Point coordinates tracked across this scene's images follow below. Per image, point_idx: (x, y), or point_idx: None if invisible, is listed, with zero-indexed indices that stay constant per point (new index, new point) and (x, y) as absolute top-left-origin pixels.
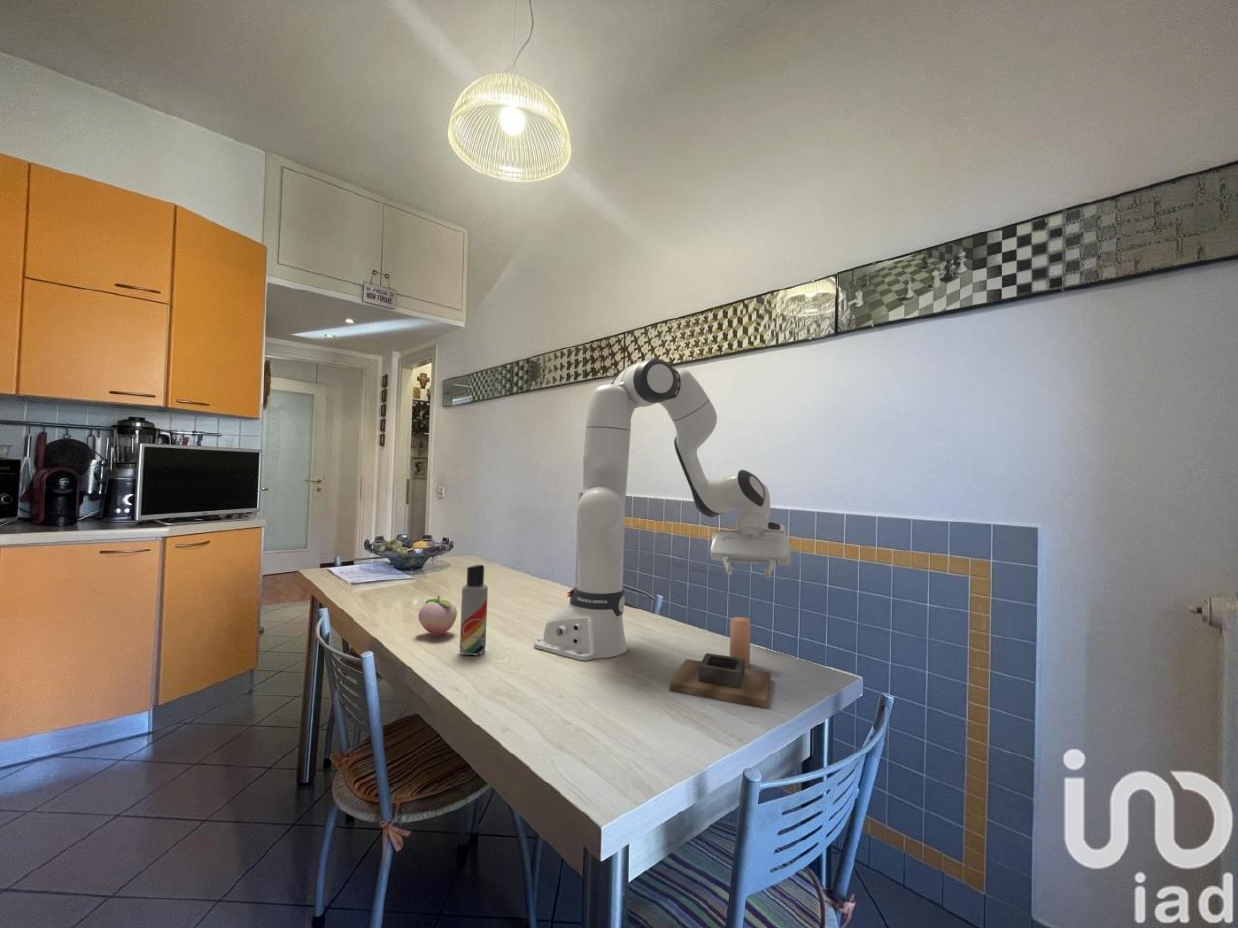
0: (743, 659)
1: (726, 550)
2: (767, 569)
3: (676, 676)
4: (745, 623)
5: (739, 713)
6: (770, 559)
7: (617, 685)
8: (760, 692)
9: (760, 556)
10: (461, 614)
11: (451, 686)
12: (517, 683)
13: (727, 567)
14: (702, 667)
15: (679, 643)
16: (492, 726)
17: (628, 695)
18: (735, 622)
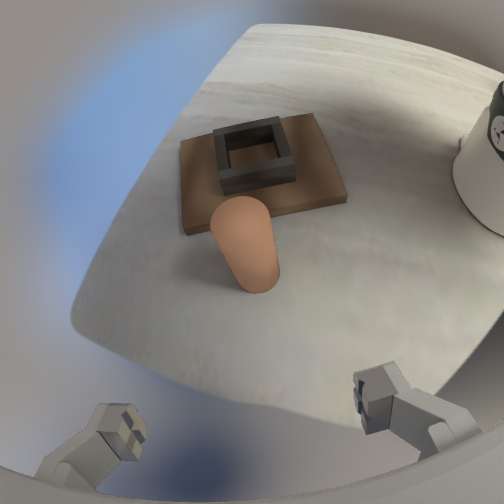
0: (220, 175)
1: (487, 462)
2: (105, 423)
3: (317, 130)
4: (220, 206)
5: (212, 123)
6: (61, 481)
7: (373, 104)
8: (189, 153)
9: (115, 496)
10: None
11: (463, 61)
12: (442, 76)
13: (393, 377)
14: (273, 118)
15: (426, 312)
16: (381, 37)
17: (344, 94)
18: (248, 198)
